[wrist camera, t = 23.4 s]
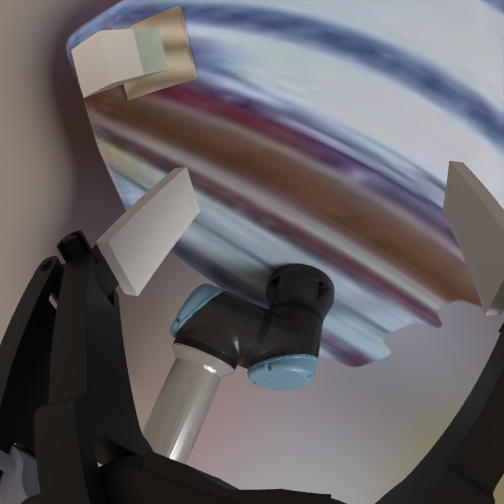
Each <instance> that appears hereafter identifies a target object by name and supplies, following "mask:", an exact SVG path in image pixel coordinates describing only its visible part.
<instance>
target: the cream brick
mask: <svg viewBox="0 0 504 504" xmlns="http://www.w3.org/2000/svg"><path fill="white" fill-rule="evenodd" d="M71 51H72V56H73V60H74V64H75V68H76V72H77V76H78V80H79V84H80V87H81V91H82V94H83V98H85V97H88V96H90V95H93V94H96V93H99V92H102V91H105V90H108V89H112V88H115V87H117V86H119V85H121V84H124V83H126V82H128V81H130V80H133V79H135V78H138V77H140V76H143V75H144V74H143V70H142V66H141V62H140V58H139V54H138V50H137V46H136V42H135V38H134V33H133V29H122V30H105V31H99V32H97V33H96V34H94V35H93V36H91V37H89V38H88V39H87V40H85V41H84V42H82V43H81V44H79V45H78V46H76V47H75V48H74V49H72V50H71Z"/></svg>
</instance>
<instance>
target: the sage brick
mask: <svg viewBox="0 0 504 504" xmlns="http://www.w3.org/2000/svg"><path fill="white" fill-rule="evenodd" d="M133 33H134V38H135V42H136V46H137V50H138V54H139V58H140V62H141V66H142V70H143V74H144V75H143V76H140V77H138V78H135V79H133V80H130V81H128V82H126V83H124V84H127V83H130V82H134V81H138V80H141V79H144V78H147V77H149V76H152V75H155V74H158V73H160V72H163V71H166V70H169V69H168V65H167V61H166V57H165V53H164V48H163V44H162V40H161V35H160V31H159V29H133ZM121 85H123V84H121ZM119 86H120V85H119Z"/></svg>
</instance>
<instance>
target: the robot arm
mask: <svg viewBox="0 0 504 504" xmlns="http://www.w3.org/2000/svg"><path fill="white" fill-rule="evenodd" d="M199 212H200V210H199V207H198V203H197V200H196V197H195V194H194V190H193V187H192V184H191V180H190V177H189V173H188V170H187V167H183V168H175V169H174V170H172V171H171V172H170V173H169V174H168V175H166V176H165V177H164V178H163V179H162V180H161V181H159V182H158V183H157V184H156V185H155V186H154V187H153V188H151V189H150V190H149V191H148V192H147V193H146V194H145V195H144V196H142V197H141V198H140V199H139V200H138V201H137V202H136V203H135V204H134V205H133V206H132V207H131V208H129V209H128V210H127V211H126V212H125V213H124V214H123V215H122V216H121V217H120V218H119V219H118V220H117V221H116V222H115V223H114V224H113V225H112V226H111V227H110V228H109V229H108V230H107V231H106V232H105V233H104V234H103V235H102V236H101V237H100V238H99V239H98V240H97V241H96V245H95V246H94V247H93V248H92V249H91V247H90V245H89V243H88V242H87V240H86V238H85V236H84V234H83V232H82V231H75V232H73V233H70V234H69V235H67V236H66V237H64V238H63V239H62V240H61V241H60V242H59V243H58V245H57V248H58V249H59V251H60V253H61V255H62V256H63V258H64V260H65V261H66V263H65V264H61V263H60V261H59V259H58V258H57V257H56V256H52V257H49V258H46V259H45V260H43V261H42V263H41V264H40V265H39V267H38V268H37V270H36V271H35V273H34V275H33V277H32V279H31V280H30V282H29V284H28V286H27V288H26V290H25V292H24V294H23V296H22V298H21V300H20V302H19V304H18V306H17V308H16V310H15V312H14V314H13V316H12V319H11V321H10V323H9V325H8V328H7V330H6V332H5V335H4V337H3V340H2V342H1V345H0V503H1V504H346V503H344V502H341V501H339V500H335V499H333V498H331V494H318V493H307V492H298V491H291V490H285V489H267V490H239V489H237V488H236V487H233V486H232V485H230V484H228V483H226V482H224V481H223V480H221V479H219V478H216V477H214V476H211V475H209V474H207V473H204V472H202V471H199V470H197V469H195V468H192V467H190V466H188V465H186V462H187V460H188V458H189V455H190V453H191V451H192V448H193V446H194V444H195V442H196V439H197V437H198V435H199V432H200V430H201V428H202V425H203V423H204V420H205V418H206V416H207V413H208V411H209V409H210V406H211V404H212V401H213V399H214V396H215V394H216V392H217V390H218V387H219V385H220V382H221V380H222V378H224V377H226V376H228V375H231V374H233V373H234V371H235V369H236V366H237V365H239V366H241V367H244V368H246V369H248V373H247V374H248V378H249V380H250V381H251V382H253V383H254V384H256V385H258V386H260V387H263V388H267V389H273V390H293V389H298V388H301V387H304V386H305V385H307V384H308V383H310V382H311V381H312V379H313V377H314V374H315V370H316V366H317V364H318V355H319V348H320V341H321V334H322V325H323V321H324V319H325V317H326V315H327V314H328V312H329V310H330V308H331V306H332V304H333V301H334V292H335V291H334V285H333V283H332V281H331V280H330V278H329V277H328V276H327V275H326V274H325V273H323V272H322V271H320V270H318V269H316V268H314V267H311V266H307V265H301V264H293V265H287V266H283V267H281V268H279V269H277V270H276V271H274V272H273V273H272V274H271V276H270V278H269V280H268V283H267V286H266V299H267V309H268V310H267V309H265V308H263V307H261V306H258V305H256V304H254V303H252V302H250V301H247V300H245V299H243V298H241V297H239V296H236V295H234V294H232V293H230V292H228V291H227V290H226V289H220V288H218V287H215V286H213V285H210V284H202V285H200V286H199V287H197V288H196V289H195V290H194V291H193V292H192V294H191V295H190V296H189V297H188V299H187V300H186V302H185V303H184V305H183V306H182V308H181V309H180V311H179V313H178V314H177V317H176V319H175V321H174V322H173V324H172V326H171V329H170V333H171V335H172V336H173V337H174V338H175V341H174V343H173V345H172V347H173V350H174V353H175V357H176V359H175V361H174V363H173V365H172V368H171V370H170V372H169V374H168V376H167V378H166V381H165V383H164V385H163V387H162V389H161V391H160V394H159V396H158V398H157V400H156V402H155V405H154V407H153V409H152V412H151V414H150V416H149V418H148V420H147V423H146V425H145V427H144V429H143V431H142V432H141V430H140V426H139V422H138V418H137V414H136V410H135V406H134V401H133V396H132V391H131V386H130V381H129V375H128V369H127V364H126V357H125V350H124V344H123V336H122V327H121V318H120V308H119V297H118V294H117V292H116V290H115V288H116V287H117V285H118V284H119V285H120V286H121V288H122V290H123V291H124V293H125V294H129V295H134V296H138V295H139V294H140V292H141V291H142V290H143V288H144V287H145V285H146V284H147V282H148V281H149V279H150V278H151V277H152V275H153V274H154V272H155V271H156V270H157V268H158V267H159V265H160V264H161V263H162V261H163V260H164V258H165V257H166V256H167V254H168V253H169V252H170V250H171V249H172V248H173V246H174V245H175V243H176V242H177V241H178V239H179V238H180V237H181V235H182V234H183V233H184V231H185V230H186V229H187V228H188V226H189V225H190V224H191V222H192V221H193V220H194V218H195V217H196V216H197V215H198V213H199ZM442 212H443V214H444V216H445V218H446V220H447V222H448V224H449V226H450V228H451V230H452V232H453V234H454V236H455V239H456V241H457V243H458V245H459V247H460V249H461V252H462V254H463V256H464V259H465V261H466V263H467V266H468V268H469V271H470V273H471V276H472V279H473V281H474V284H475V287H476V289H477V292H478V295H479V298H480V301H481V304H482V307H483V310H484V313H485V315H498V314H501V313H502V312H503V310H504V210H503V208H502V207H501V206H500V204H499V203H498V202H497V201H496V199H495V198H494V197H493V196H492V194H491V193H490V192H489V191H488V190H487V189H486V187H485V186H484V185H483V184H482V183H481V182H480V180H479V179H478V178H477V177H476V176H475V175H474V174H473V173H472V172H471V171H470V169H469V168H468V167H467V166H466V165H465V164H464V163H463V162H454V161H449V170H448V178H447V186H446V193H445V199H444V206H443V211H442ZM50 295H51V296H52V297H53V299H54V300H55V302H56V303H57V309H55V308H54V307H53V305H52V304H51V303H50V301H49V296H50ZM499 332H500V333H501V334H500V336H499V338H498V340H497V343H496V345H495V347H494V349H493V352H492V353H491V356H490V358H489V360H488V362H487V364H486V366H485V368H484V369H483V371H482V373H481V375H480V377H479V379H478V381H477V382H476V384H475V386H474V388H473V389H472V391H471V393H470V395H469V396H468V398H467V399H466V401H465V403H464V404H463V406H462V407H461V409H460V410H459V412H458V413H457V415H456V416H455V418H454V419H453V421H452V422H451V423H450V425H449V426H448V428H447V429H446V430H445V432H444V433H443V435H442V436H441V437H440V438H439V440H438V441H437V442H436V444H435V445H434V446H433V448H432V449H431V450H430V451H429V452H428V454H427V455H426V456H425V457H424V458H423V459H422V461H421V462H420V463H419V464H418V465H417V466H416V468H415V469H414V470H413V471H412V472H411V473H410V474H409V475H408V476H407V477H406V478H405V479H404V480H403V481H402V482H400V483H399V484H398V485H396V486H395V487H394V488H393V489H391V490H390V491H389V492H388V493H387V494H385V495H384V496H383V497H382V498H381V499H380V500H379V501H378V502H376V503H375V504H494V503H495V500H494V497H493V492H494V489H495V487H496V485H497V484H498V482H499V480H500V479H501V477H502V475H503V474H504V324H503V325H502V327H501V328H500V330H499ZM14 443H16V445H15V444H14ZM97 462H98V463H100V464H102V466H100V467H98V464H97Z"/></svg>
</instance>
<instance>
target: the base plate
mask: <svg viewBox="0 0 504 504" xmlns="http://www.w3.org/2000/svg"><path fill="white" fill-rule="evenodd" d="M126 29H159V31H160V35H161V40H162V44H163V48H164V53H165V57H166V61H167V65H168V69H169V70H166V71H163V72H160V73H158V74H155V75H152V76H149V77H147V78H144V79H141V80H138V81H134V82H130V83H127V84H124V88H125V92H126V95H127V99H128V101H129V100H132V99H134V98H137V97H140V96H143V95H146V94H148V93H151V92H154V91H158V90H161V89H164V88H167V87H170V86H174V85H177V84H181V83H184V82H188V81H191V80H195V79H198V78H197V73H196V69H195V65H194V60H193V56H192V52H191V48H190V43H189V39H188V34H187V30H186V26H185V21H184V17H183V12H182V8H181V7H179V6H175V7H173V8H170V9H168V10H165V11H163V12H160V13H158V14H156V15H154V16H151V17H149V18H147V19H145V20H143V21H140V22H138V23H136V24H134V25H132V26H130V27H128V28H126Z"/></svg>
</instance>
